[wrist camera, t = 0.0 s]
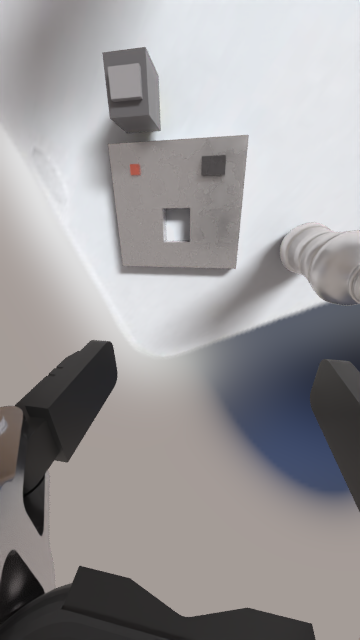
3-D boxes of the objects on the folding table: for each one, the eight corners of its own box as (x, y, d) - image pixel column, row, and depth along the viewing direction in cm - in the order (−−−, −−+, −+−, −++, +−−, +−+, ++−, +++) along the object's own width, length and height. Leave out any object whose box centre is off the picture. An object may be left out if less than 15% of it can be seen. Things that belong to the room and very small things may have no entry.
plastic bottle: (335, 234, 31) (486, 262, 13) (303, 276, 34) (392, 344, 17) (295, 213, 31) (396, 213, 13) (266, 257, 34) (317, 306, 16)
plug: (128, 88, 28) (99, 48, 21) (162, 84, 27) (143, 42, 21) (132, 137, 30) (107, 116, 24) (164, 135, 30) (147, 112, 23)
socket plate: (114, 148, 31) (105, 142, 29) (246, 139, 28) (249, 132, 26) (127, 263, 38) (120, 266, 36) (235, 265, 35) (236, 269, 33)
